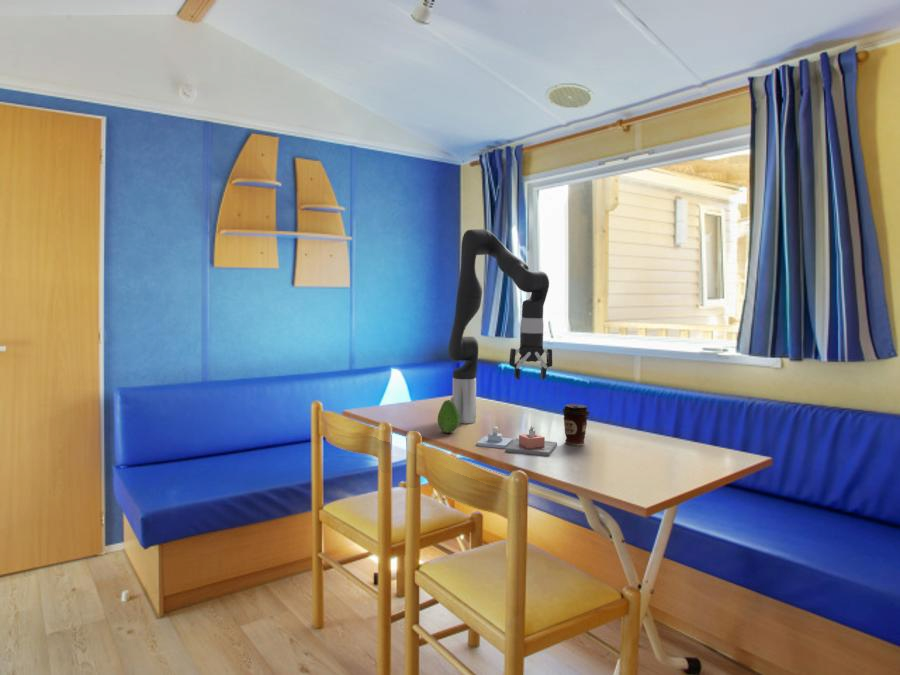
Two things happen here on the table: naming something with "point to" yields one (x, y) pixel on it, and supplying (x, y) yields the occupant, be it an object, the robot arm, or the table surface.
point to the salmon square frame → (531, 441)
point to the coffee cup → (575, 423)
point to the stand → (494, 440)
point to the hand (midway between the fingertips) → (530, 379)
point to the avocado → (448, 417)
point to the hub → (542, 451)
